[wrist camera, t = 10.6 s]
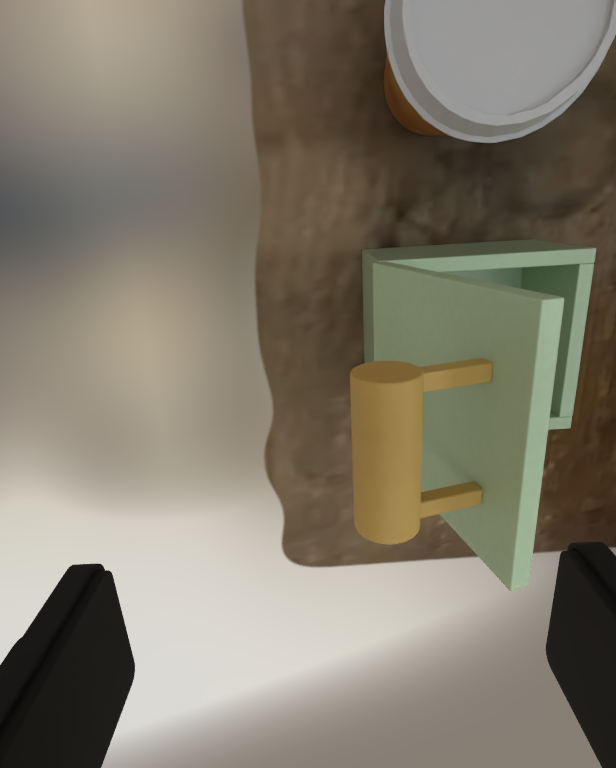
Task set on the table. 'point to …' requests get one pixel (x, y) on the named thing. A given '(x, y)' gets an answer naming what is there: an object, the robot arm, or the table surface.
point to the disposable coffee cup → (490, 63)
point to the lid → (455, 412)
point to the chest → (515, 269)
